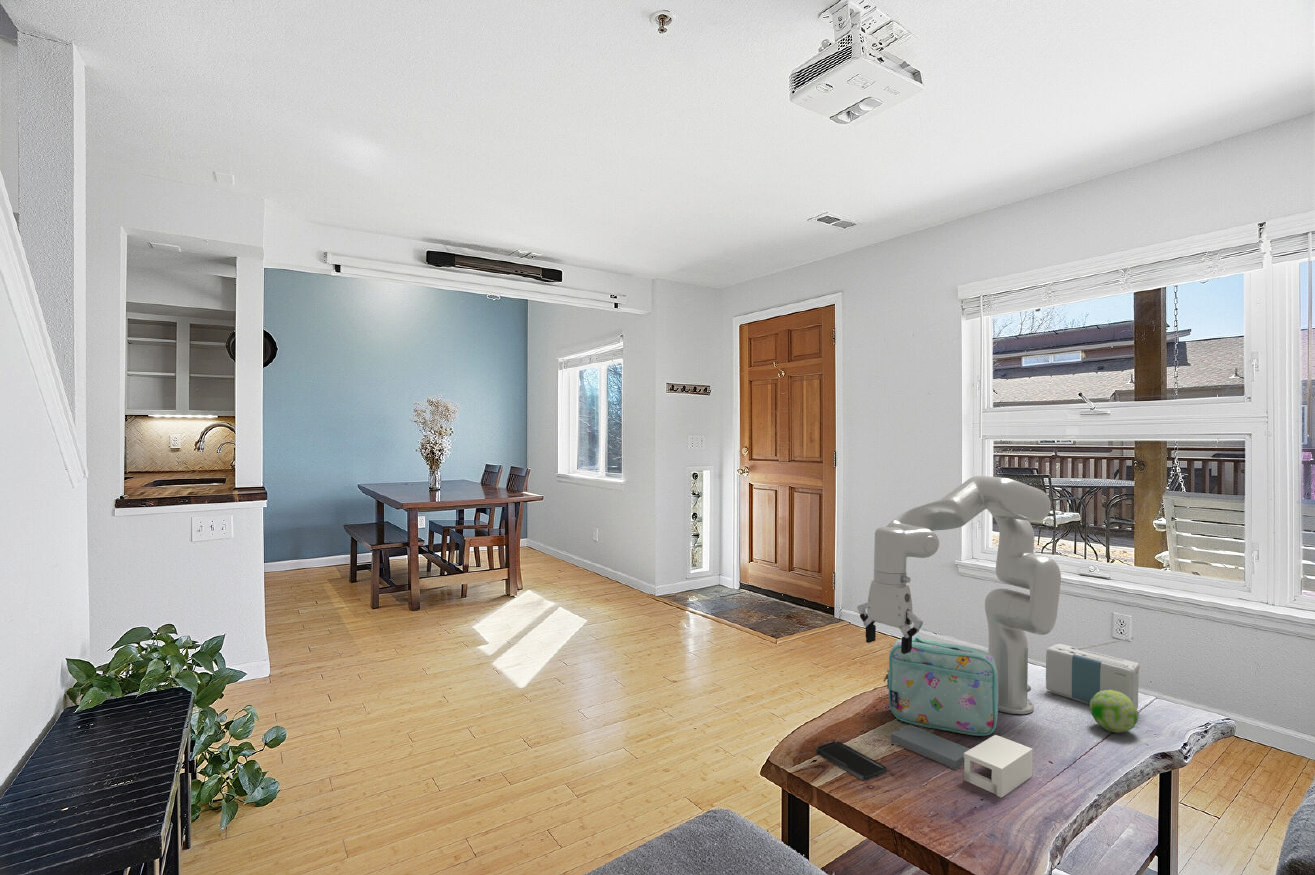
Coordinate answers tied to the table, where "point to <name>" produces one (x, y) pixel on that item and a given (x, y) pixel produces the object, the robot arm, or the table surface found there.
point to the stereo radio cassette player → (1089, 673)
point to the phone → (851, 760)
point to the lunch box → (944, 687)
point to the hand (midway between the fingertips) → (887, 647)
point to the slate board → (930, 746)
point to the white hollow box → (999, 764)
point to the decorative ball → (1113, 711)
